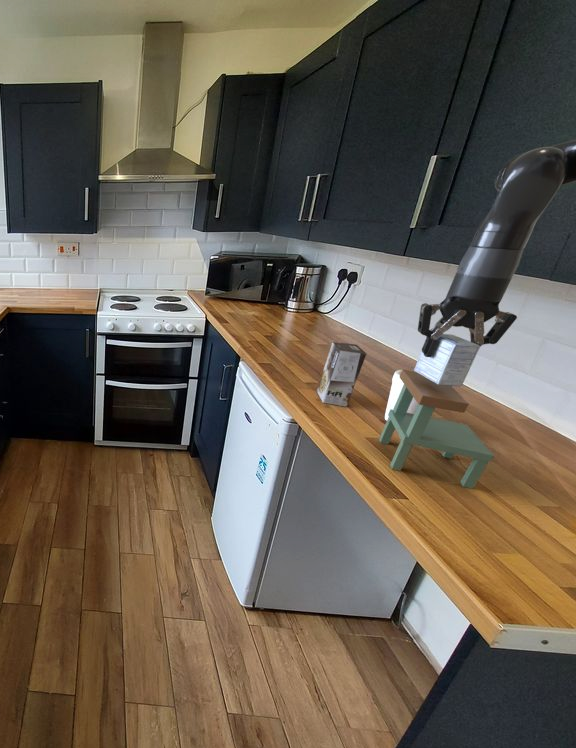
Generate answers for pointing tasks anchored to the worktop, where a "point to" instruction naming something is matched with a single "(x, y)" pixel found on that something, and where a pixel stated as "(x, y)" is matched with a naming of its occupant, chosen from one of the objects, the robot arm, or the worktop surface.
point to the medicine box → (448, 361)
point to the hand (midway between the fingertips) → (445, 358)
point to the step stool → (433, 426)
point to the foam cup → (394, 395)
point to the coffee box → (340, 373)
